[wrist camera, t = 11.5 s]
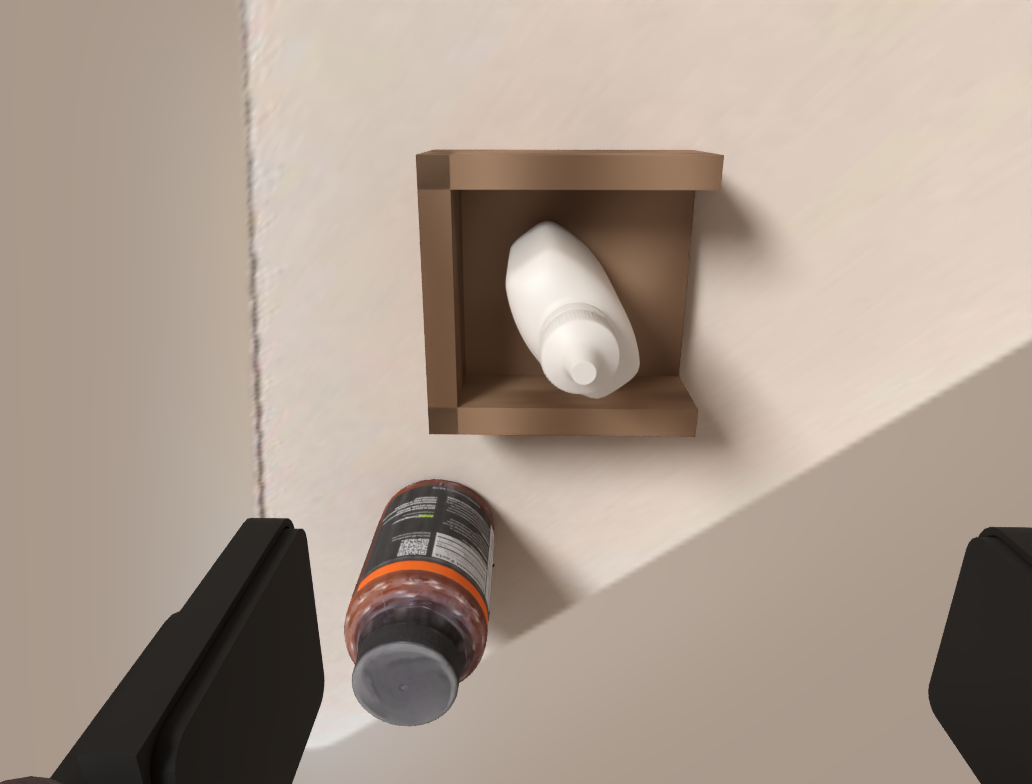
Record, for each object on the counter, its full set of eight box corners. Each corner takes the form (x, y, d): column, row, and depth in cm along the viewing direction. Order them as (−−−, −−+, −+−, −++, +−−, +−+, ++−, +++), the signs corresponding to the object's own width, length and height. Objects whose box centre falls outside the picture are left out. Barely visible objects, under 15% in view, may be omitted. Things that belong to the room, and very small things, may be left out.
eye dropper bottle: (524, 348, 32) (519, 471, 21) (506, 223, 30) (491, 285, 19) (620, 336, 31) (669, 454, 20) (608, 209, 30) (656, 263, 18)
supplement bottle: (428, 590, 38) (388, 771, 27) (358, 511, 36) (288, 671, 26) (518, 538, 37) (513, 706, 26) (451, 453, 35) (416, 596, 24)
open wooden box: (693, 150, 30) (724, 155, 25) (672, 392, 33) (695, 436, 29) (433, 149, 30) (415, 154, 25) (443, 391, 34) (429, 434, 29)
